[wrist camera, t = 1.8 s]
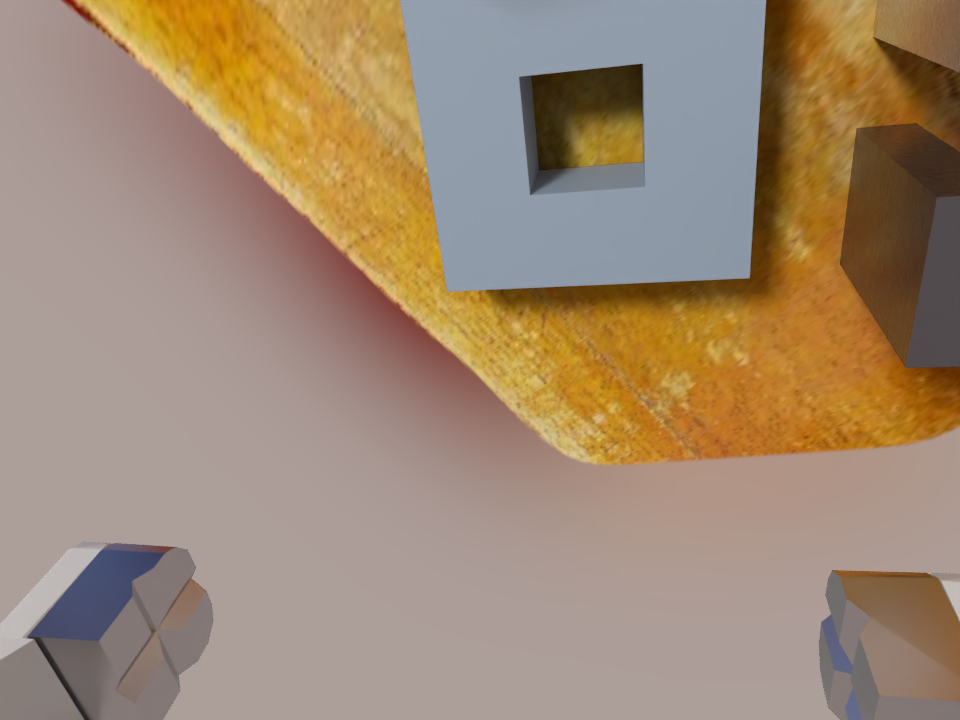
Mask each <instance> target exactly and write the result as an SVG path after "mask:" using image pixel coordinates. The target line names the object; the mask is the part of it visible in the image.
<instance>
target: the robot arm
mask: <svg viewBox="0 0 960 720" xmlns="http://www.w3.org/2000/svg"><path fill="white" fill-rule="evenodd" d="M195 569H196V566H195V564H194V562H193V560H192V558H191V556H190V554H189V552H188V550H186V549H182V548H178V547H167V546H151V545H136V544H121V543H114V544H111V543H95V542H82V543H80V544H78V545H76V546H74V547H71V548H70V549H69V550H68V551H67V552H66V553H65V554H64V555H63V556H62V557H61V559H60V560H59V561H58V562H57V563H56V564H55V565H54V566H53V567H52V568H51V570H50V571H49V572H48V573H47V574H46V575H45V576H44V577H43V578H42V579H41V580H40V581H39V582H38V584H37V585H36V586H35V587H34V588H33V589H32V590H31V591H30V592H29V593H28V595H27V596H26V597H25V598H24V599H23V600H22V601H21V602H20V603H19V604H18V605H17V606H16V608H15V609H14V610H13V611H12V612H11V613H10V614H9V615H8V616H7V617H6V618H5V620H4V621H3V622H2V623H1V624H0V720H163V719H164V717H165V715H166V714H167V712H168V710H169V709H170V707H171V705H172V704H173V702H174V700H175V699H176V697H177V695H178V694H179V692H180V683H179V675H180V674H181V673H182V672H184V671H185V670H186V669H188V668H189V667H190V666H192V665H193V664H194V663H196V662H197V661H198V660H199V658H200V656H201V654H202V653H203V651H204V649H205V647H206V645H207V644H208V641H209V637H210V632H211V628H212V624H213V611H212V603H211V601H210V599H209V596H208V594H207V591H206V590H205V589H203V588H202V587H201V586H199V584H197V583H196V582H195V581H194V580H192V579H191V578H192V576H193V574H194V571H195ZM825 595H826V598H827V602H828V605H829V609H830V612H831V615H830V616H829V617H827V618H826V619H825V620H823V621H822V622H821V630H820V639H819V656H820V670H821V676H822V682H823V688H824V692H825V696H826V700H827V704H828V708H829V709H830V710H831V711H832V712H833V713H834V714H835V715H836V716H837V717H838V718H839V719H840V720H960V574H946V573H931V574H927V573H911V572H875V571H838V570H832V572H831V574H830V576H829V578H828V583H827V589H826V594H825Z"/></svg>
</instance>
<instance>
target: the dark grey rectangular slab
mask: <svg viewBox="0 0 960 720" xmlns="http://www.w3.org/2000/svg"><path fill="white" fill-rule="evenodd" d="M840 265H841V266H842V268H843V269H844V271H845V273H846V274H847V276H848V277H849V279H850V280H851V282H852V284H853V285H854V287H855V288H856V290H857V291H858V293H859V295H860V296H861V298H862V299H863V301H864V303H865V304H866V306H867V307H868V309H869V310H870V312H871V314H872V315H873V317H874V318H875V320H876V322H877V323H878V325H879V326H880V328H881V329H882V331H883V333H884V334H885V336H886V337H887V339H888V341H889V342H890V344H891V345H892V347H893V348H894V350H895V352H896V353H897V355H898V356H899V358H900V359H901V361H902V363H903V364H904V366H905V367H906V368H912V367H960V152H959V151H957V150H956V149H954V148H953V147H951V146H950V145H948V144H947V143H945V142H944V141H942V140H941V139H939V138H938V137H936V136H935V135H933V134H932V133H930V132H929V131H927V130H926V129H924V128H923V127H921V126H920V125H918V124H917V123H914V124H902V125H890V126H878V127H866V128H857V130H856V138H855V146H854V154H853V162H852V171H851V179H850V187H849V195H848V203H847V211H846V219H845V227H844V235H843V243H842V251H841V260H840Z"/></svg>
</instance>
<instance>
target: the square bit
mask: <svg viewBox="0 0 960 720" xmlns="http://www.w3.org/2000/svg"><path fill="white" fill-rule="evenodd" d="M873 37H875V38H877V39H880V40H882V41H885V42H887V43H889V44H892V45H894V46H897V47H899V48H902V49H904V50H906V51H909V52H911V53H914V54H916V55H918V56H921V57H923V58H926V59H928V60H931V61H933V62H935V63H938V64H940V65H943V66H945V67H947V68H950V69H952V70H955V71H957V72H960V0H878V3H877V11H876V19H875V27H874V35H873Z"/></svg>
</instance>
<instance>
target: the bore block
mask: <svg viewBox="0 0 960 720" xmlns="http://www.w3.org/2000/svg"><path fill="white" fill-rule="evenodd" d="M400 2H401V8H402V14H403V21H404V27H405V33H406V39H407V45H408V52H409V58H410V64H411V70H412V76H413V82H414V89H415V95H416V101H417V107H418V113H419V120H420V126H421V132H422V138H423V144H424V151H425V157H426V163H427V169H428V175H429V182H430V188H431V194H432V200H433V206H434V213H435V219H436V225H437V231H438V237H439V244H440V250H441V256H442V262H443V268H444V274H445V281H446V287H447V292H451V291H473V290H496V289H518V288H541V287H563V286H586V285H608V284H631V283H653V282H676V281H698V280H721V279H743V278H750V265H751V248H752V231H753V214H754V197H755V181H756V164H757V147H758V130H759V113H760V96H761V79H762V63H763V46H764V29H765V12H766V0H400ZM634 64H642V108H643V162H639V163H626V164H614V165H601V166H588V167H576V168H563V169H551V170H539V161H538V149H537V137H536V126H535V114H534V103H533V91H532V80H531V75H540V74H550V73H559V72H568V71H578V70H587V69H596V68H606V67H615V66H624V65H634Z"/></svg>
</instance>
